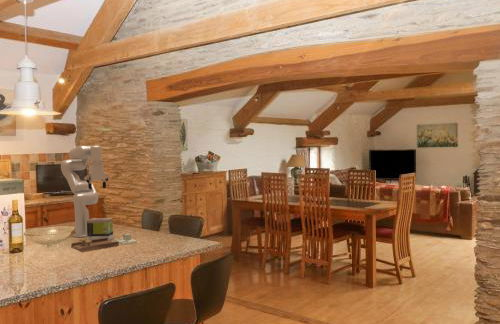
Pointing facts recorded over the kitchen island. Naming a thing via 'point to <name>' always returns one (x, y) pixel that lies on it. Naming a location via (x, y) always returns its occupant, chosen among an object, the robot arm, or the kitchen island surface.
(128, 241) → the panel
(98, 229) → the tea box
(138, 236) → the kitchen island surface
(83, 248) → the board
